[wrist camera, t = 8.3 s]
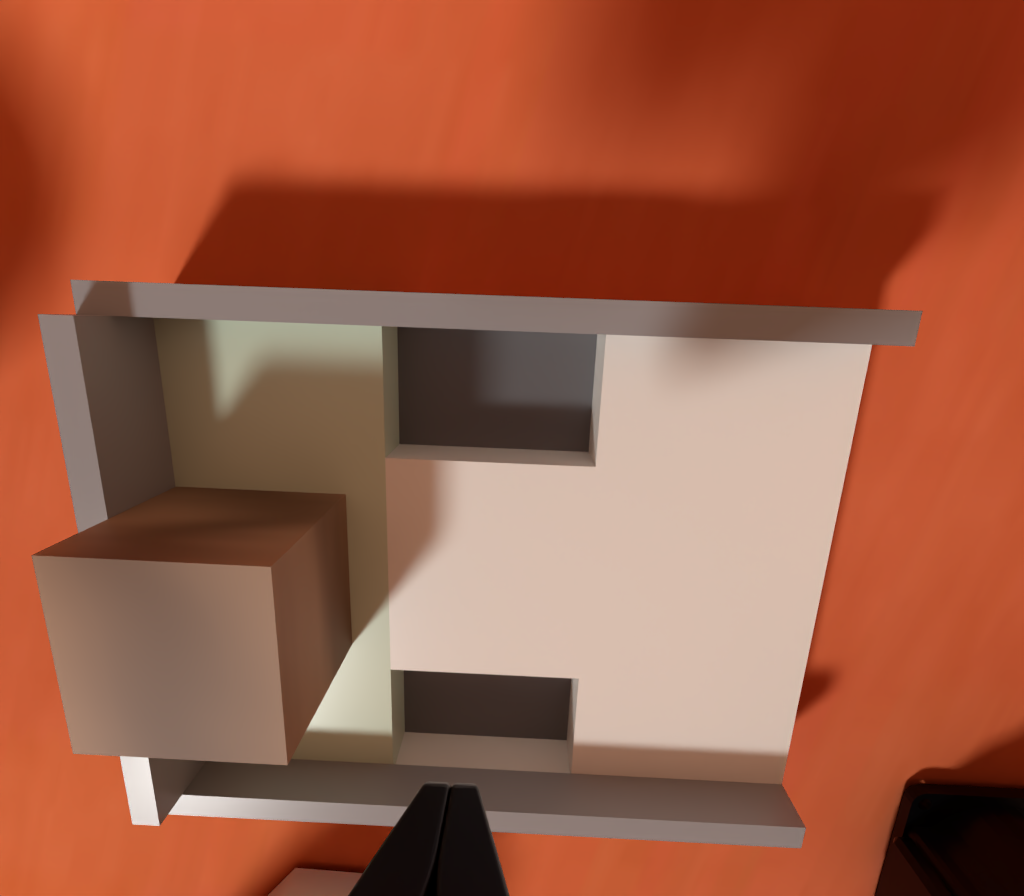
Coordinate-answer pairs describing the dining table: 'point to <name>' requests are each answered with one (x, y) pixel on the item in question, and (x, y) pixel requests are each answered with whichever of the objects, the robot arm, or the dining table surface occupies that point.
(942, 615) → the dining table surface
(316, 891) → the flask
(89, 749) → the walnut block
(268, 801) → the box
